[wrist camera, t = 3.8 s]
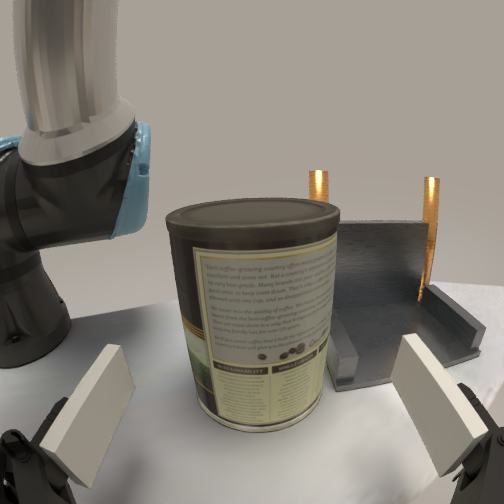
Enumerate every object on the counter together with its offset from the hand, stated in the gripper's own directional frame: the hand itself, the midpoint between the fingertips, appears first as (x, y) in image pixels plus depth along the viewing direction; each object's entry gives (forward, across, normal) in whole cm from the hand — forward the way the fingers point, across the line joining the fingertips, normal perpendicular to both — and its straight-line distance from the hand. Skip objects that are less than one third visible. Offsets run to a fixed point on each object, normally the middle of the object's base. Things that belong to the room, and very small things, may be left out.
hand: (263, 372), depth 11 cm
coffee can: (+7, 0, -8) cm, 11 cm away
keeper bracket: (+12, +14, -8) cm, 20 cm away
